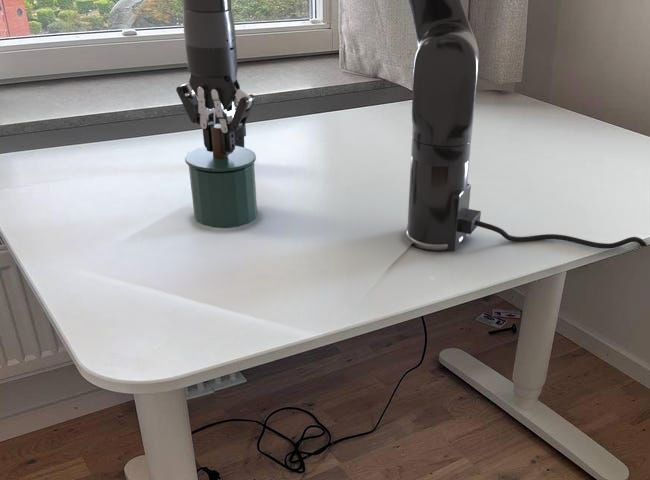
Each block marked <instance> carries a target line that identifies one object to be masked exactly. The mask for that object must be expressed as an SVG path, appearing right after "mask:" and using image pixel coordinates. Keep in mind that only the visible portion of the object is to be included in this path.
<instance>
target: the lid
mask: <svg viewBox="0 0 650 480" xmlns="http://www.w3.org/2000/svg"><path fill="white" fill-rule="evenodd" d="M210 129H211V140H212V150H213V152H209V151H207V148H206V147H205V146H201V147H197V148H194V149H191V150H190V151H188V152H187V153H186V155H184V162H185V163H186V165H187V166H188V167H189V166H190V167H193V168H195V169H199V170H204V171H216V172H221V171H233V170H238V169H242V168H245V167H248V166H250V165H252V164H253V163H254V164H255V162H256V161H257V156H256V154H255V152H254V151H253V150H251V149H250V148H247V147H245V146H244V147H240V146H235V150H233V152H232V153H231V154H229V155H224V154H223V153H222V144H221V132H222V130H221V126H220V124H213V125H211V126H210Z"/></svg>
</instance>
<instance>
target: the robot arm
mask: <svg viewBox="0 0 650 480" xmlns="http://www.w3.org/2000/svg"><path fill="white" fill-rule="evenodd" d="M407 1H408V4H409V9H410V13H411V17H412V21H413V26H414V32H415V36H416V43H417V50H416V52H415V55H414V60H413V61H414V62H413V72H412V73H413V74H412V96H411V97H412V99H411V123H412V124H411V125H412V129H411V130H412V131H411V152H410V153H411V154H410V170H409V190H408V191H409V192H408V209H407V210H408V211H407V226H406V227H407V229H406V238H407V240H408V241H409V242H410V243H411V245H412V246H413V247H416V248H419V249H422V250H426V251H433V252H434V251H436V252H437V251H438V252H439V251H440V252H441V251H450V252H455V251H456V250H457V249H458V248H459V246H461V245H462V243H463V242H464V241H465V239H466V238H467V235H472V233H473V232H474V231H475V230H476V229H477V227H479V228H482V229H486V230H489V231H492V232H495V233H498V234H499V235H501V236H502V238H504V239H505V240H507V241H509V242H515V243H523V242H525V243H527V242H535V241H536V242H537V241H542V240H557V241H564V242H568V243H569V242H570V243H574V244H578V245H582V246H585V247H586V246H587V247H590V248H594V249H595V248H597V249H605V250H609V249H610V250H611V249H616V248H619V247H623V246H625V245H628V244H630V243H637V244H639V245H640V246H641V247H647V246H648V244H647V243H646V241H645V240H644V239H642V238H641V237H638V236H630V237H627V238H624V239H621V240H619V241H615V242H609V243H607V242H606V243H604V242H596V241H590V240H587V239H582V238H578V237H574V236H570V235H565V234H558V233H557V234H556V233H546V234H536V235H529V236H516V235H511V234H509V233H508V232H507V231H506V230H504V229H503V228H501V227H498V226H497V225H493V224H490V223H487V222H483V221H481V215H482V211H481V210H476V209H471V208H470V199H471V190H472V189H471V188H472V185H471V184H470V183H468V178H469V170H470V169H469V168H470V167H469V166H470V157H471V148H472V138H473V137H472V136H473V127H474V117H475V103H476V95H477V83H478V74H479V73H478V72H479V63H480V62H479V61H480V50H479V45H478V42H477V40H476V36H475V34H474V32H473V29H472V27H471V23H470V22H469V19H468V16H467V13H466V11H465V7H464V4H463V2H462V0H407ZM181 2H182V8H183V10H182V11H183V17H182V18H183V19H182V21H183V22H182V23H183V24H182V27H183V34H184V35H183V36H184V45H185V54H186V55H185V56H186V64H187V71H188V72H189V73H190V77H189V79H188V82H186V83H184V84H182V85H178V86H177V87H176V89H175V90H176V93H177V95H178V97H179V100H180V102H181V104H182V106H183V108H184V109H185V111H186V113H187V115H188V117H189V119H190V122H191V123H192V124H197V125H199V126H200V128H201V129H202V137H203V145H204V147H206V148H207V151H209V152H213V150H212V140H211V129H210V126H211V125H213V124H215V112H216V115H217V118H219V121H220V126H221V130H222V132H221V144H222V153H223V154H224V155H229V154H231V153H232V152H233V150H235V135H234V131H236V130H238V129H239V128H242V127H244V126H246V124H247V121H248V119H249V116H250V113H251V111H252V108H253V106H254V103H255V101H256V97H255V95H254V94H252V93H249V94H247V93H246V92H244V91H243V90H242V89H241V86H240V83H239V81H238V70H239V67H238V53H237V42H236V39H237V38H236V37H237V36H236V27H235V19H234V14H233V9H232V0H181ZM235 100H236V101H235ZM234 101H235V102H234ZM235 107H236V108H237V109H236V112H235ZM224 109H226V110H224Z"/></svg>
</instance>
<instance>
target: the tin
mask: <svg viewBox="0 0 650 480" xmlns="http://www.w3.org/2000/svg"><path fill="white" fill-rule="evenodd" d="M188 172H189V181H190V189H191V190H190V191H191V199H192V207H193V215H194V218H195V221H196V222H197V223H199V224H201V225H202V226H205V227H210V228H213V229H214V228H215V229H217V228H218V229H229V228H230V229H231V228H238V227H241V226H245V225H248V224H250V223H251V222H254V220H255V219H256V218H257V216H258V203H257V201H258V200H257V188H256V174H255V172H256V171H255V162H254V163H253V164H252V165H250V166H248V167H245V168H242V169H238V170H234V171H226V172H211V171H204V170H199V169H195V168H193V167H190V166H189V165H188Z"/></svg>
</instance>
